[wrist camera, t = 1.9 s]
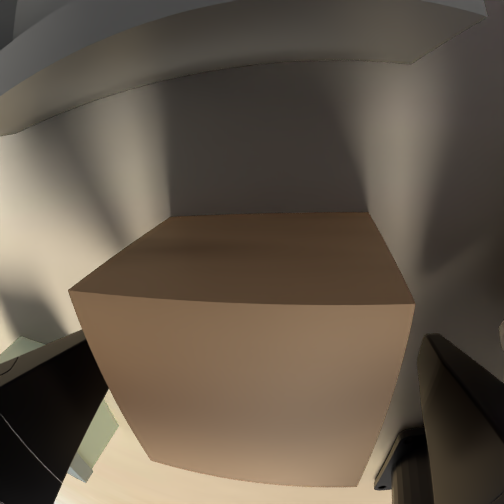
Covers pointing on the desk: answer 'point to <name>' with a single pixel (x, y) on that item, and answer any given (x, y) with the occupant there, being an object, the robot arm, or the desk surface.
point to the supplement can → (502, 334)
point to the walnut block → (252, 343)
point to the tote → (196, 42)
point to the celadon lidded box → (96, 433)
